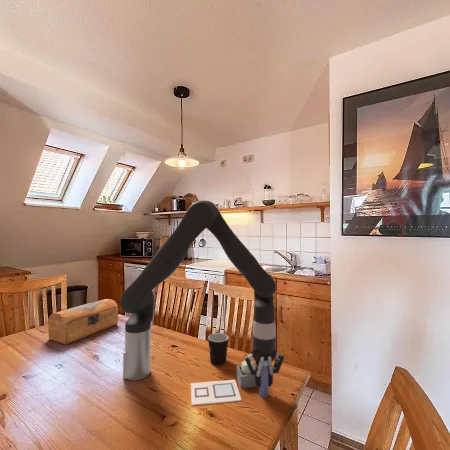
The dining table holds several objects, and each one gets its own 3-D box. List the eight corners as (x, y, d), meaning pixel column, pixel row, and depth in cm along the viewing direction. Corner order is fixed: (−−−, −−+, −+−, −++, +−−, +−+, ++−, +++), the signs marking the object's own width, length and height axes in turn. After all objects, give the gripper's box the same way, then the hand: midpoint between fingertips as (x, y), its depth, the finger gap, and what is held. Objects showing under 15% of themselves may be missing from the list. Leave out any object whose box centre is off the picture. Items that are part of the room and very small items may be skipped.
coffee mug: (226, 368, 101) (226, 342, 101) (205, 365, 102) (205, 340, 103) (231, 354, 112) (231, 331, 112) (212, 352, 114) (212, 329, 114)
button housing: (240, 388, 88) (240, 376, 88) (236, 376, 95) (236, 365, 95) (259, 386, 89) (259, 375, 89) (254, 375, 96) (254, 364, 96)
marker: (260, 398, 83) (260, 361, 83) (257, 392, 86) (257, 356, 86) (270, 397, 83) (270, 361, 84) (267, 391, 87) (267, 355, 87)
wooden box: (66, 346, 119) (66, 316, 119) (47, 338, 126) (47, 310, 127) (120, 324, 145) (120, 300, 145) (101, 319, 153) (101, 296, 153)
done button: (243, 380, 90) (243, 367, 90) (240, 372, 94) (240, 360, 94) (255, 379, 90) (255, 366, 90) (252, 371, 95) (252, 359, 95)
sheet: (191, 405, 79) (191, 404, 79) (190, 384, 90) (190, 382, 90) (241, 401, 82) (241, 399, 82) (235, 380, 93) (235, 379, 93)
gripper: (246, 339, 80) (245, 394, 80) (288, 337, 82) (288, 390, 82) (241, 330, 88) (240, 380, 88) (280, 328, 90) (279, 377, 90)
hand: (263, 385), depth 85 cm, fingers closed on marker, 3 cm apart
